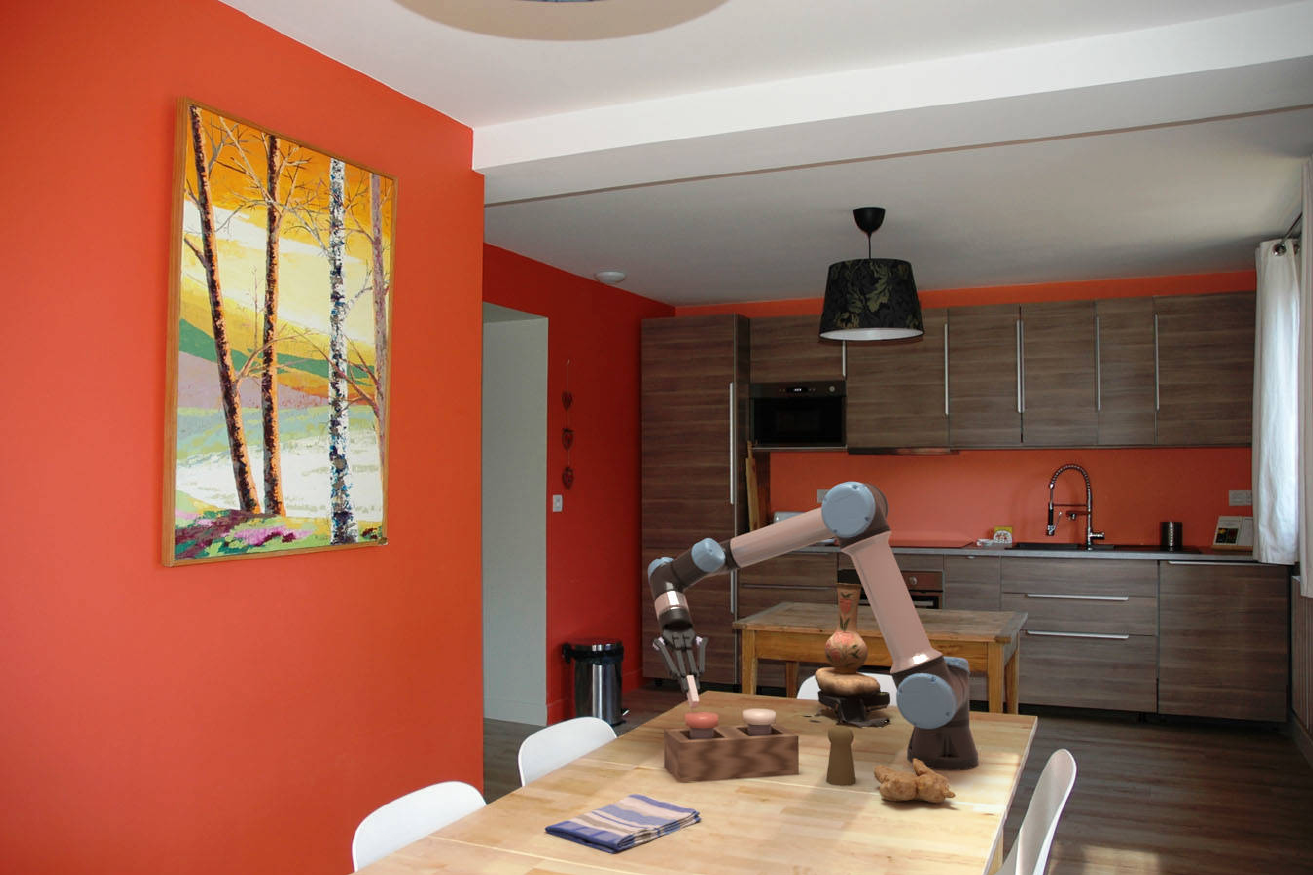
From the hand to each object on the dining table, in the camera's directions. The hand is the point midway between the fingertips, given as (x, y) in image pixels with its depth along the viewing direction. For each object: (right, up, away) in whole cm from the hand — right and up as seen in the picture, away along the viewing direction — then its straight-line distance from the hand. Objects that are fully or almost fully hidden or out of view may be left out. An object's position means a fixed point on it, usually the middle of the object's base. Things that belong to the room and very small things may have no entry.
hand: (694, 704), depth 219 cm
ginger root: (+41, -13, -21) cm, 48 cm away
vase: (+43, -17, +52) cm, 69 cm away
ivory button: (+14, -9, 0) cm, 16 cm away
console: (+8, -14, -2) cm, 16 cm away
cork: (+30, -14, -9) cm, 34 cm away
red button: (+1, -8, -3) cm, 9 cm away
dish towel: (-14, -12, -38) cm, 43 cm away
